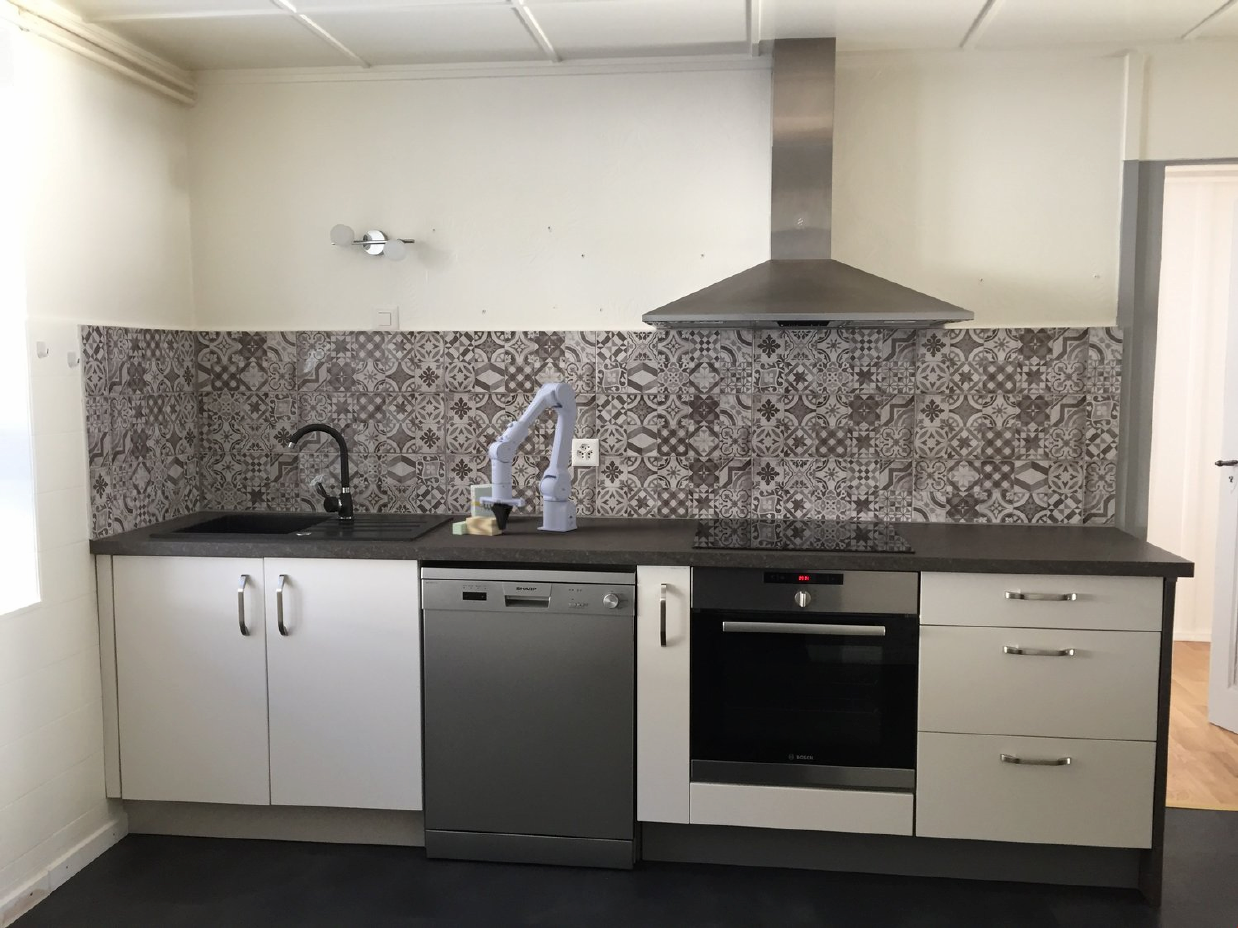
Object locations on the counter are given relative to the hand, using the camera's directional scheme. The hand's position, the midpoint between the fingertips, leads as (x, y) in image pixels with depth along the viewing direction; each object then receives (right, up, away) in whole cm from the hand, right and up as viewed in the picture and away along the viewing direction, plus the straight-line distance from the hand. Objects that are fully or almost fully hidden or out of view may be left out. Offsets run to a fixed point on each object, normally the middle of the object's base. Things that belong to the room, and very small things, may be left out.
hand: (502, 529), depth 286 cm
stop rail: (-10, -1, +6) cm, 12 cm away
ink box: (-8, 0, +25) cm, 26 cm away
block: (-6, -1, +2) cm, 6 cm away
